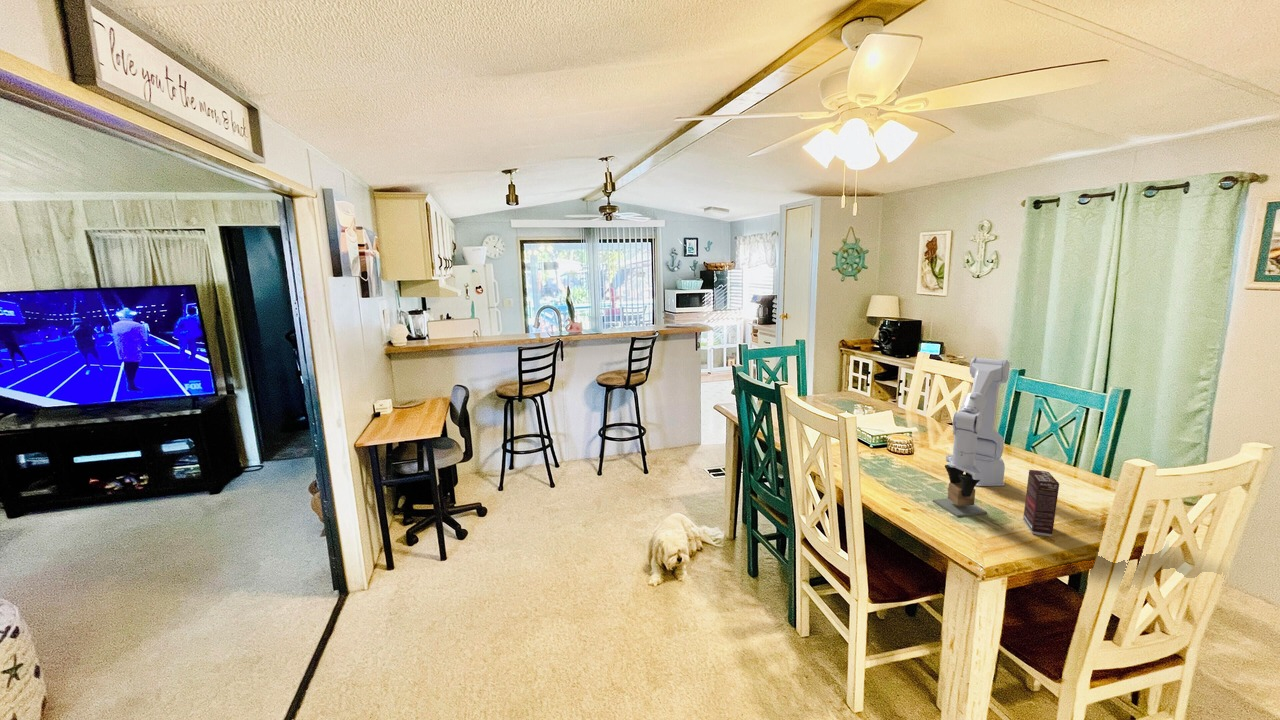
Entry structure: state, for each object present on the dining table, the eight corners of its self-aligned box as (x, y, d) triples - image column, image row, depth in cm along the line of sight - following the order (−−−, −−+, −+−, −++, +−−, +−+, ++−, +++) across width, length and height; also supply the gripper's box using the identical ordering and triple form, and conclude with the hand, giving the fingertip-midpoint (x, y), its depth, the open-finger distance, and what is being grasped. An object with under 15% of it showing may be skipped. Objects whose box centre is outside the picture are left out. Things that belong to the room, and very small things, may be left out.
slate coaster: (961, 498, 159) (961, 496, 159) (986, 513, 149) (987, 511, 149) (932, 501, 157) (933, 499, 157) (957, 516, 148) (957, 514, 148)
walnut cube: (963, 497, 155) (965, 482, 154) (974, 505, 150) (975, 489, 149) (947, 497, 155) (948, 483, 154) (957, 505, 150) (958, 490, 150)
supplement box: (1053, 537, 135) (1060, 483, 132) (1031, 534, 137) (1038, 481, 134) (1042, 522, 143) (1049, 471, 140) (1022, 519, 145) (1028, 468, 142)
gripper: (937, 442, 157) (934, 482, 160) (965, 459, 143) (961, 503, 145) (960, 441, 157) (956, 481, 159) (990, 459, 143) (986, 502, 145)
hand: (960, 492), depth 152 cm, fingers closed on walnut cube, 5 cm apart
